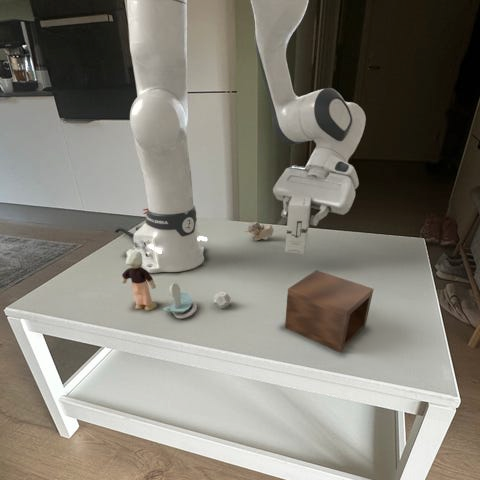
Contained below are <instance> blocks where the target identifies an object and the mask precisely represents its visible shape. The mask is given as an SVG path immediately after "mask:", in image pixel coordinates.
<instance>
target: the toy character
mask: <svg viewBox="0 0 480 480" xmlns="http://www.w3.org/2000/svg"><path fill="white" fill-rule="evenodd" d="M248 232H249V233H250V234H251V236H254V240H255V241H260V240H264V241H266V240H268V239H269V237H271V236H272V235H273V233H274V228H273V225H272V224H268V225H264V224H261V225H260V223H259V222H258V221H253V222H250V223H249V224H248V228H246V229H244V233H248Z"/></svg>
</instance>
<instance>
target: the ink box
mask: <svg viewBox="0 0 480 480" xmlns="http://www.w3.org/2000/svg"><path fill="white" fill-rule="evenodd" d="M311 209H312V208H311V197H308V196H302V195H292V197H291V200H290V202H289V205H288V219H287V221H286V222H287V223H286V238H285V250H284V252H285V253H292V254H301V255H304V254H305V253H306V248H307V243H308V234H309V233H308V232H309V227H310V223H309V219H311Z"/></svg>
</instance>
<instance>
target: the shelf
mask: <svg viewBox="0 0 480 480" xmlns="http://www.w3.org/2000/svg"><path fill="white" fill-rule="evenodd" d="M374 290H375V289H374V288H372V287H370V286H367V285H364V284H361V283H358V282H354V281H351V280H349V279H345V278H343V277H340V276H336V275H334V274H330V273H327V272H324V271H321V270H318V269H316V270H314V271H312V272H311V273H309V274H308V275H307V276H305V277H304V278H302V279H301V280H299V281H297V282H296V283H294V284H292V285H291V286H289V287H288V288H287V295H286V296H287V297H286V309H285V323H284V328H285V329H287V330H289V331H291V332H294V333H295V334H298V335H300V336H302V337H304V338H307V339H309V340H310V341H313V342H315V343H318V344H320V345H322V346H324V347H327V348H329V349H330V350H333V351H335V352H338V353H340V354H341V353H342V352H343V351H344V350H345V349H346V348H347V347H348V346H349V344H351V343H352V342H353V341H354V340H355V339H356V338H357V337H358V336H359V335H360V334H361V333H362V332H363V331H364V330H365V329H366V326H367V321H368V317H369V311H370V307H371V303H372V299H373V294H374Z"/></svg>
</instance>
